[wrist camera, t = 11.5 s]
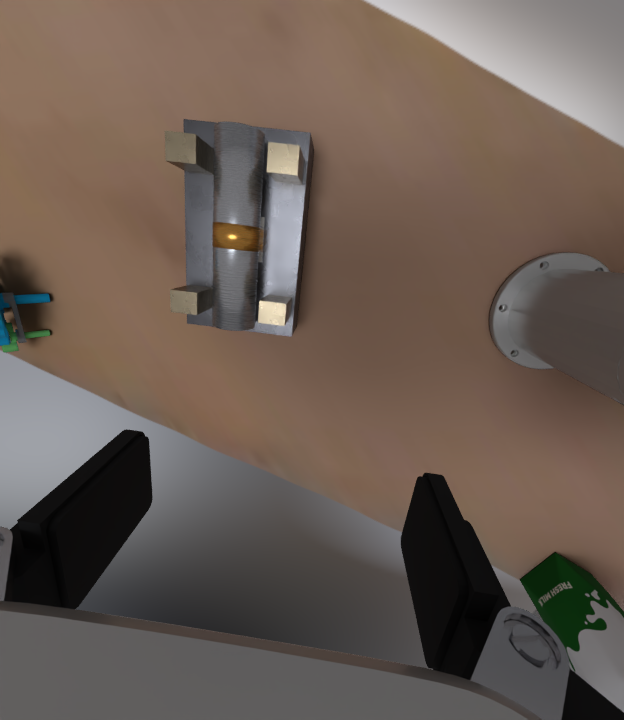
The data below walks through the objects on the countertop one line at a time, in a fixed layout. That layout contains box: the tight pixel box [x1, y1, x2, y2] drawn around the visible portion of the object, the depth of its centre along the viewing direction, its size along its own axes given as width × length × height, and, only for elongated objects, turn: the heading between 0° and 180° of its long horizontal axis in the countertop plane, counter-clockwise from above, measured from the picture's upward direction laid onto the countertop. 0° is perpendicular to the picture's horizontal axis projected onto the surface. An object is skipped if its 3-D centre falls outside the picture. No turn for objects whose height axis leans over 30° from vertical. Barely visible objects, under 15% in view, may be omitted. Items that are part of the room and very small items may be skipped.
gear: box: [0, 293, 50, 352], centre depth 37 cm, size 11×6×10 cm
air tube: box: [212, 122, 265, 331], centre depth 29 cm, size 16×4×4 cm, turn 174°
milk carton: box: [520, 552, 624, 712], centre depth 38 cm, size 9×9×20 cm
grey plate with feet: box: [165, 119, 314, 337], centre depth 31 cm, size 11×18×9 cm, turn 174°
